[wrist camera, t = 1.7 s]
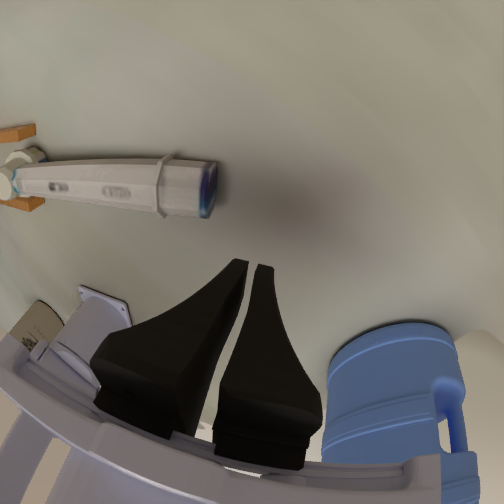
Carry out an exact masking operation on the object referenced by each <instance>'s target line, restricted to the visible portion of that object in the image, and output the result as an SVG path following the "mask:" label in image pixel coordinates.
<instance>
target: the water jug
mask: <svg viewBox="0 0 504 504" xmlns="http://www.w3.org/2000/svg"><path fill="white" fill-rule="evenodd" d="M327 390H328V396H327V412H326V424H325V431H324V433H323V439H322V448H321V455H322V461H321V462H324V463H341V464H386V463H403V462H405V461H406V460H408V459H410V458H413V457H416V456H421V455H430V454H437V453H439V454H440V460H441V504H479V499H480V479H479V476H478V467H477V454H476V453H475V452H473V451H468V445H467V437H466V430H465V423H464V417H463V411H462V403H463V401H464V398H465V385H464V381H463V377H462V374H461V370H460V366H459V363H458V355H457V351H456V348H455V345H454V342H453V340H452V338H451V337H450V336H449V334H448V333H446V332H445V331H444V330H442V329H441V328H439V327H436V326H433V325H430V324H425V323H402V324H395V325H390V326H386V327H383V328H379V329H376V330H374V331H371V332H369V333H366V334H364V335H362V336H360V337H358V338H357V339H355V340H353V341H352V342H350V343H349V344H347V345H346V346H345V347H344V348H343V349H341V350H340V351H339V352H338V353H337V355H336V356H335V357H334V359H333V360H332V362H331V364H330V366H329V369H328V374H327ZM446 418H447V420H448V427H449V435H450V445H451V453H447V452H445V451H444V450H443V449H442V448H441V446H440V441H439V431H438V423H439V422H441V421H443V420H444V419H446Z"/></svg>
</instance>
